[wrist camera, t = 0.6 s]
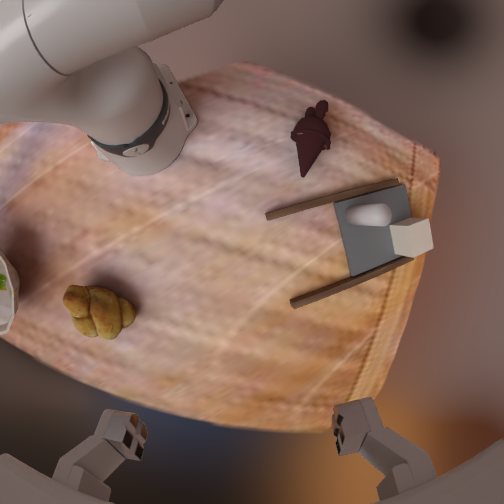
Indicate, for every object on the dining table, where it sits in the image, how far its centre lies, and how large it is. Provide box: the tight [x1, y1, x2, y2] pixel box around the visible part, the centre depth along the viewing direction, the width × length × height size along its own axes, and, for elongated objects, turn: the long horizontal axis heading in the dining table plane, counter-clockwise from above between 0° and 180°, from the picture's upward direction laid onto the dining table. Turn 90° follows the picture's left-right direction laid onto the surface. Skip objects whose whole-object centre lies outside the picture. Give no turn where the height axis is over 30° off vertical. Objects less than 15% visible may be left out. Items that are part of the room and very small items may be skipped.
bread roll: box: [63, 285, 136, 340], centre depth 40 cm, size 13×10×8 cm
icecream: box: [291, 100, 331, 177], centre depth 43 cm, size 7×7×15 cm
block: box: [389, 218, 433, 258], centre depth 47 cm, size 6×6×6 cm
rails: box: [265, 178, 414, 309], centre depth 48 cm, size 17×28×2 cm, turn 107°
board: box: [334, 184, 412, 276], centre depth 44 cm, size 14×18×11 cm
